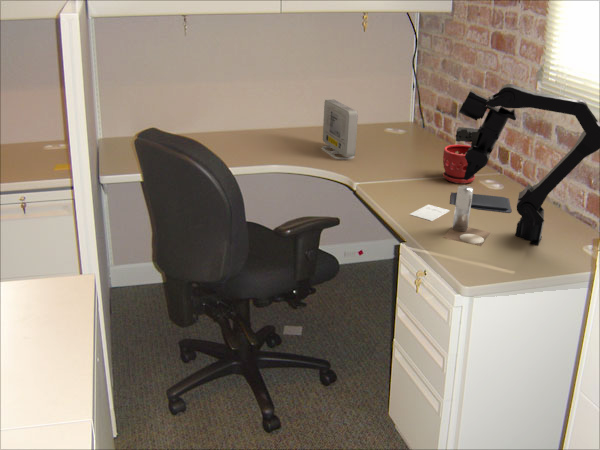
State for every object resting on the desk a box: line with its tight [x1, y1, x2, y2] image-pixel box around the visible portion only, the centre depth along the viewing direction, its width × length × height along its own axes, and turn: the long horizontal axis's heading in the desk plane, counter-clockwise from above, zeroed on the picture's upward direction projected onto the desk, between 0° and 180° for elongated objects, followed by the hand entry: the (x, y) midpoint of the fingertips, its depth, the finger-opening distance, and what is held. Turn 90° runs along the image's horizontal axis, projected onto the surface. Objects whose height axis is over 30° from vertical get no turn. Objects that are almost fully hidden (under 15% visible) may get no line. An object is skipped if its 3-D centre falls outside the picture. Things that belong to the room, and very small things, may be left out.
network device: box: [320, 99, 359, 161], centre depth 262 cm, size 26×9×20 cm, turn 20°
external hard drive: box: [408, 204, 451, 222], centre depth 203 cm, size 2×8×12 cm
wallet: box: [449, 191, 512, 214], centre depth 215 cm, size 20×2×15 cm
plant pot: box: [442, 144, 476, 184], centre depth 235 cm, size 13×13×12 cm
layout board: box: [442, 225, 491, 247], centre depth 187 cm, size 11×12×1 cm
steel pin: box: [451, 184, 474, 232], centre depth 188 cm, size 4×4×13 cm
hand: (467, 175), depth 187 cm, fingers open, 9 cm apart
